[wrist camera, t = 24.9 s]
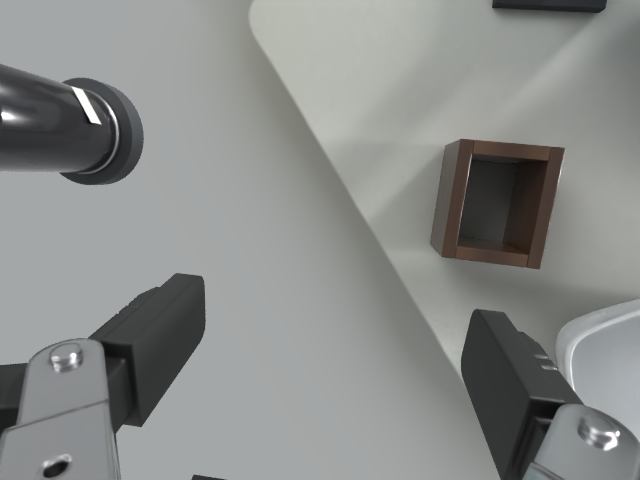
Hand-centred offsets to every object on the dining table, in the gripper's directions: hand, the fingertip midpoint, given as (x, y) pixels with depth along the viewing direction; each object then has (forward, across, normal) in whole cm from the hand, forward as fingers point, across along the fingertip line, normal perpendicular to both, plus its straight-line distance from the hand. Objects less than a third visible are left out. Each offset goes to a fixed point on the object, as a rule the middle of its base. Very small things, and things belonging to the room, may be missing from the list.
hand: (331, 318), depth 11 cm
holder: (+31, -14, +2) cm, 34 cm away
